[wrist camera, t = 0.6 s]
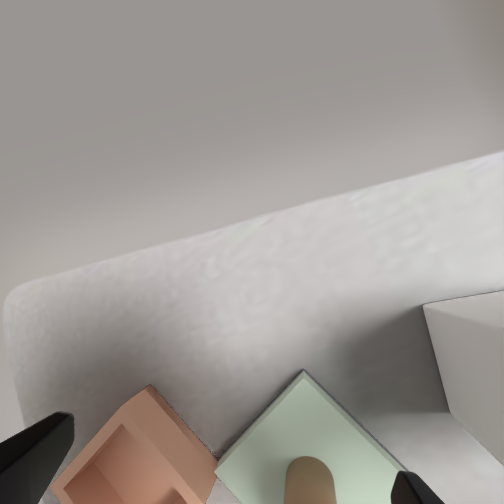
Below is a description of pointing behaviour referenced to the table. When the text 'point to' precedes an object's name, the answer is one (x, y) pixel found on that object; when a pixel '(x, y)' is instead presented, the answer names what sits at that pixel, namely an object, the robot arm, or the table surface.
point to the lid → (307, 455)
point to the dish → (140, 460)
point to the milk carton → (472, 363)
